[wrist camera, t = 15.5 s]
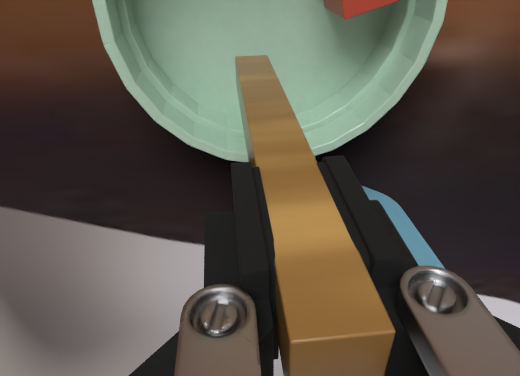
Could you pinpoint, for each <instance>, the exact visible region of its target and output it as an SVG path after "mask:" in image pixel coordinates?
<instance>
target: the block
mask: <svg viewBox="0 0 520 376" xmlns="http://www.w3.org/2000/svg"><path fill="white" fill-rule="evenodd" d="M397 1H400V0H324V5H325V8H327V9H328V10H330V11H331V12H333V13H335V14H336V15H338V16H340V17H341V18H343V19H344V20H346V19H349V18H352V17H355V16H358V15H360V14H363V13H366V12H369V11H372V10H375V9H377V8H380V7H383V6H386V5H389V4H392V3H394V2H397Z"/></svg>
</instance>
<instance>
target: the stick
mask: <svg viewBox="0 0 520 376" xmlns="http://www.w3.org/2000/svg"><path fill="white" fill-rule="evenodd" d="M235 67H236V86H237V93H238V99H239V106H240V112H241V118H242V124H243V130H244V136H245V142H246V148H247V154H248V161H249V162H251V166H252V167H259V168H260V173H261V178H262V183H263V188H264V193H265V198H266V203H267V208H268V213H269V218H270V223H271V228H272V232H273V237H274V249H275V264H274V265H275V280H276V282H275V325H276V332H277V338H278V344H279V350H280V356H281V362H282V368H283V374H284V376H384V375H385V371H386V367H387V363H388V359H389V356H390V352H391V348H392V344H393V341H394V337H395V329H394V326H393V324H392V322H391V320H390V318H389V316H388V313H387V311H386V309H385V307H384V305H383V303H382V301H381V298H380V296H379V294H378V292H377V290H376V288H375V286H374V283H373V281H372V279H371V277H370V275H369V273H368V270H367V268H366V266H365V264H364V262H363V260H362V258H361V255H360V253H359V251H358V250H357V249H356V247H355V245H354V243H353V241H352V239H351V237H350V235H349V233H348V231H347V229H346V227H345V224H344V222H343V220H342V218H341V216H340V214H339V211H338V209H337V207H336V205H335V203H334V200H333V198H332V196H331V194H330V192H329V190H328V187H327V185H326V183H325V181H324V179H323V177H322V174H321V172H320V170H319V168H318V166H317V164H316V162H317V161H316V159H315V157H314V154H313V152H312V150H311V148H310V146H309V144H308V142H307V139H306V137H305V135H304V133H303V131H302V129H301V127H300V124H299V122H298V120H297V118H296V116H295V114H294V111H293V109H292V107H291V105H290V103H289V101H288V99H287V96H286V94H285V92H284V90H283V88H282V86H281V84H280V81H279V79H278V77H277V75H276V73H275V71H274V69H273V66H272V64H271V62H270V60H269V58H268V56H267V55H257V56H236V57H235Z"/></svg>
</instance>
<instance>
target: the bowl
mask: <svg viewBox="0 0 520 376" xmlns="http://www.w3.org/2000/svg"><path fill="white" fill-rule="evenodd" d="M447 1H448V0H400V1H397V2H394V3H392V4H389V5H386V6H383V7H380V8H377V9H375V10H372V11H369V12H366V13H363V14H360V15H358V16H355V17H352V18H349V19H346V20H344V19H343V18H341V17H340V16H338V15H336V14H335V13H333V12H331V11H330V10H328V9H327V8H325V5H324V0H92V2H93V6H94V10H95V14H96V18H97V22H98V26H99V30H100V34H101V38H102V42H103V44H104V47H105V49H106V51H107V53H108V55H109V57H110V59H111V61H112V63H113V65H114V66H115V68H116V70H117V72H118V74H119V76H120V78H121V80H122V82H123V84H124V86H125V87H127V88H126V89H127V90H128V91H129V92H130V93H131V95H132V96H133V97H134V98H135V99H136V100H137V101H138V103H139V104H140V105H141V106H142V107H143V108H144V109H145V111H146V112H147V113H148V114H149V115H150V116H151V117H152V119H153V120H154V121H156V122H157V123H158V124H159V125H161V126H162V127H164V128H165V129H166V130H168V131H169V132H171V133H172V134H174V135H175V136H176V137H178V138H179V139H181V140H182V141H183V142H185V143H186V144H188V145H190V146H192V147H195V148H197V149H200V150H202V151H205V152H207V153H210V154H212V155H215V156H217V157H220V158H222V159H225V160H231V161H238V162H249V161H248V154H247V148H246V142H245V136H244V130H243V124H242V118H241V112H240V106H239V99H238V93H237V86H236V67H235V57H236V56H257V55H267V56H268V58H269V60H270V62H271V64H272V66H273V69H274V71H275V73H276V75H277V77H278V79H279V81H280V84H281V86H282V88H283V90H284V92H285V94H286V96H287V99H288V101H289V103H290V105H291V107H292V109H293V111H294V114H295V116H296V118H297V120H298V122H299V124H300V127H301V129H302V131H303V133H304V135H305V137H306V139H307V142H308V144H309V146H310V148H311V150H312V152H313V154H314V156H316V155H319V154H322V153H325V152H329V151H332V150H334V149H336V148H338V147H340V146H341V145H343V144H345V143H346V142H348V141H350V140H351V139H353V138H355V137H357V136H358V135H360V134H362V133H363V132H365V131H367V129H369V128H370V127H371V126H373V125H374V124H375V123H376V122H377V121H378V120H379V119H380V118H381V117H382V116H383V115H385V114H386V113H387V112H388V111H389V110H390V109H391V108H392V107H393V106H394V105H395V104H396V103H397V101H399V100H400V99H401V97H402V96H403V94H404V93H405V92H406V90H407V89H408V88H409V86H410V85H411V83H412V82H413V81H414V79H415V78H416V76H417V75H418V74H419V72H420V71H421V69H422V68H423V66H424V64H425V62H426V60H427V58H428V55H429V53H430V51H431V49H432V46H433V44H434V42H435V40H436V37H437V35H438V33H439V30H440V28H441V26H442V23H443V20H444V15H445V11H446V6H447Z"/></svg>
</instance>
